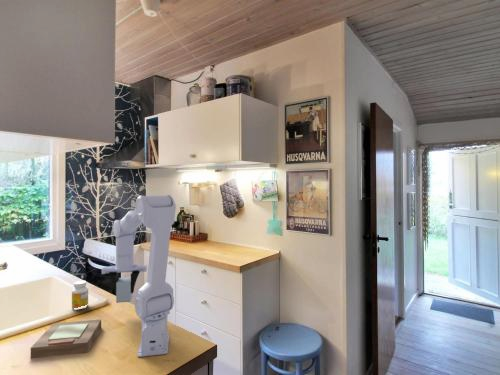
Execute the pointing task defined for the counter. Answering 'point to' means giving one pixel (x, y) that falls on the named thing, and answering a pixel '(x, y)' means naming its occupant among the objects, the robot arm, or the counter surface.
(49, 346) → the walnut stand
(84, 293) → the supplement bottle
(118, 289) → the slate block
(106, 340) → the counter surface
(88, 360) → the counter surface
